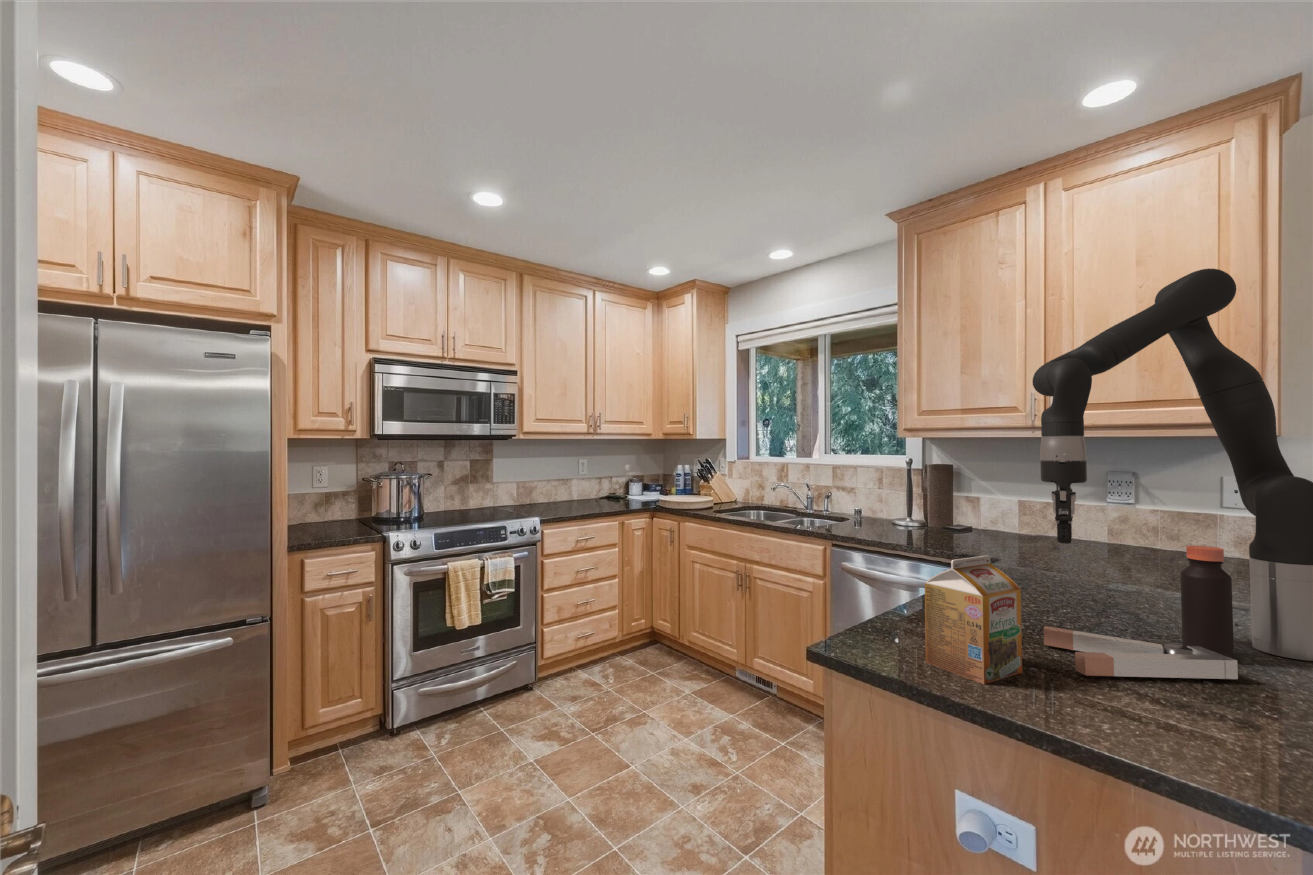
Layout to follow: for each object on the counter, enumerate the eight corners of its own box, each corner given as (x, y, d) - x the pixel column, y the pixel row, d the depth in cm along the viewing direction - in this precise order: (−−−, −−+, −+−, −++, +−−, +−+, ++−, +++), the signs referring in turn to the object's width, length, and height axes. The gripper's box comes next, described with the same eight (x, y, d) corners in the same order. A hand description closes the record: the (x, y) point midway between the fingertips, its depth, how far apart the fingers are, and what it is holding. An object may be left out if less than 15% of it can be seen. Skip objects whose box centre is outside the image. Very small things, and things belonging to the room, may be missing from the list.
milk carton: (984, 684, 89) (982, 565, 90) (925, 662, 99) (924, 555, 99) (1022, 672, 94) (1020, 560, 95) (963, 653, 104) (961, 550, 104)
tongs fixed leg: (1199, 663, 97) (1198, 646, 97) (1237, 679, 90) (1237, 660, 90) (1058, 660, 98) (1057, 643, 98) (1085, 675, 91) (1085, 657, 92)
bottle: (1219, 652, 104) (1216, 545, 105) (1244, 665, 98) (1240, 551, 98) (1174, 648, 106) (1171, 543, 107) (1195, 660, 100) (1192, 549, 101)
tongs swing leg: (1191, 666, 96) (1191, 647, 96) (1194, 673, 93) (1194, 652, 93) (1045, 641, 109) (1044, 624, 109) (1043, 646, 106) (1043, 628, 106)
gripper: (1042, 458, 120) (1043, 535, 120) (1038, 458, 109) (1040, 543, 108) (1086, 458, 116) (1088, 538, 115) (1086, 459, 104) (1088, 547, 104)
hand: (1064, 540), depth 112 cm, fingers open, 7 cm apart
